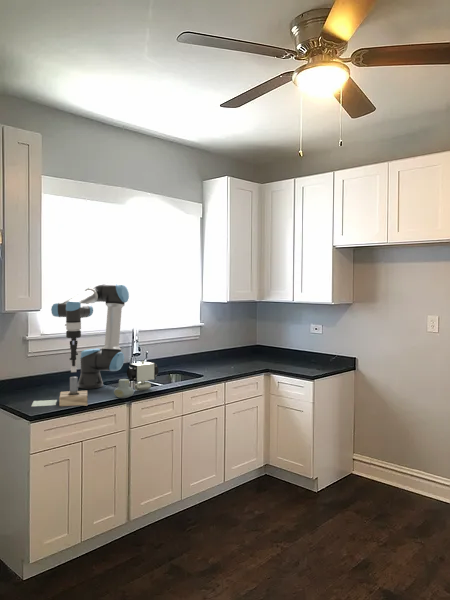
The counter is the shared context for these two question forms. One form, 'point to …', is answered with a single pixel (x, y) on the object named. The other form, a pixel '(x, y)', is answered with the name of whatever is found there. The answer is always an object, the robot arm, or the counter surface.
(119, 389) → the air freshener
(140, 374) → the white boxy device
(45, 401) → the mat
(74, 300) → the robot arm
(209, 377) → the counter surface
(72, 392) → the pin
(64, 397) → the block
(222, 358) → the counter surface
